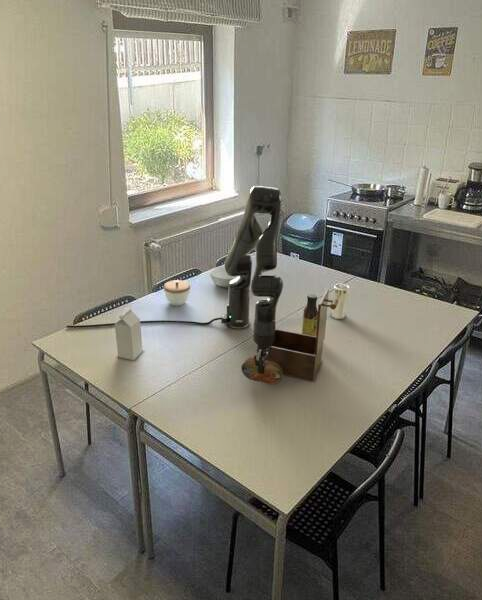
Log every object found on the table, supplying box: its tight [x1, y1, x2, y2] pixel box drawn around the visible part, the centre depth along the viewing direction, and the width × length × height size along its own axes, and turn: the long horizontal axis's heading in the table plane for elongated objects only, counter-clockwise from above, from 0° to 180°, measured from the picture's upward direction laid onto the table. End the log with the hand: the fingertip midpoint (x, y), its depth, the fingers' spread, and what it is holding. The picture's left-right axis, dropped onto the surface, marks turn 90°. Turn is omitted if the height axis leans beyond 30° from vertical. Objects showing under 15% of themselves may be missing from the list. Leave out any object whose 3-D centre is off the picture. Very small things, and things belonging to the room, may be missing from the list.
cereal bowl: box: [210, 265, 238, 288], centre depth 256 cm, size 17×17×7 cm
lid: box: [315, 288, 338, 356], centre depth 176 cm, size 20×14×5 cm
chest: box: [267, 328, 324, 382], centre depth 187 cm, size 20×14×11 cm
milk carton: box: [114, 308, 143, 361], centre depth 191 cm, size 7×7×19 cm
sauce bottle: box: [301, 293, 318, 336], centre depth 204 cm, size 7×6×20 cm
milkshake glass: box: [331, 283, 350, 320], centre depth 224 cm, size 7×7×15 cm
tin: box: [241, 357, 284, 385], centre depth 176 cm, size 15×3×8 cm, turn 68°
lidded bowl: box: [163, 279, 191, 307], centre depth 235 cm, size 13×13×11 cm
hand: (262, 370), depth 176 cm, fingers closed on tin, 2 cm apart
